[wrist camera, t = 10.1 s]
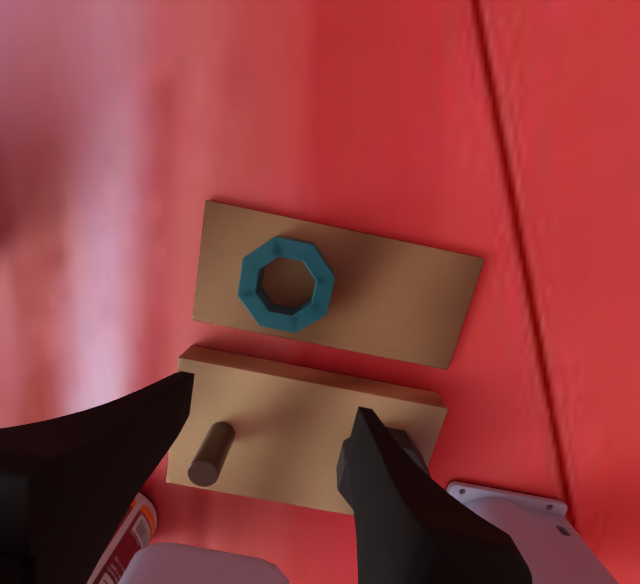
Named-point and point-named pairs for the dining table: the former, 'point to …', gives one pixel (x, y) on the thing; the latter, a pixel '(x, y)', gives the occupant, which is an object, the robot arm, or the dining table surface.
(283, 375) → the peg board
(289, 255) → the teal ring
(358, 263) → the cork mat
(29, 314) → the dining table surface
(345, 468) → the charcoal ring
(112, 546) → the pill bottle
